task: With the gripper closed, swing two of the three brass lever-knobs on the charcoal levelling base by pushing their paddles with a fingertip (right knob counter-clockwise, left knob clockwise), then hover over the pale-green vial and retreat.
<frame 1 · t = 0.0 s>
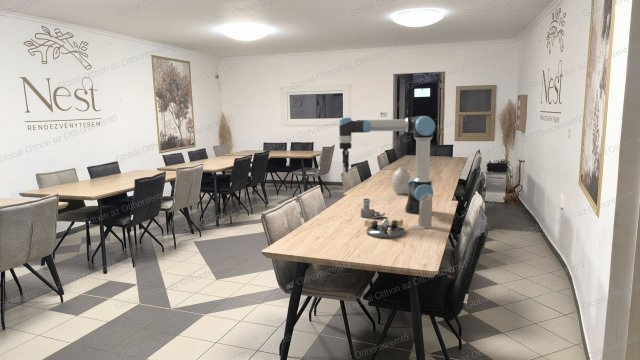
hand: (345, 175, 269), 28 cm above the table, fingers open, 13 cm apart
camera: (372, 217, 274), on the table
knob b: (397, 223, 242), point 4 cm above the table, hinge at 0.0°
knob a: (371, 223, 242), point 4 cm above the table, hinge at 0.0°
candle: (420, 227, 249), on the table
vase: (401, 194, 347), on the table
level base: (385, 233, 238), on the table
knob d: (388, 229, 229), point 4 cm above the table, hinge at 0.0°
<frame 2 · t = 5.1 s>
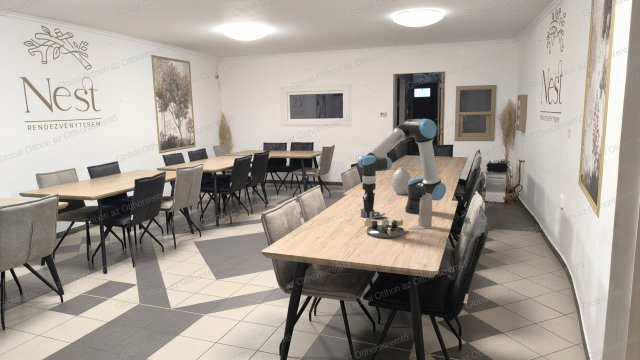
hand: (368, 222, 244), 5 cm above the table, fingers closed
knob a: (370, 223, 242), point 4 cm above the table, hinge at 2.9°, touching gripper
everything else where it was.
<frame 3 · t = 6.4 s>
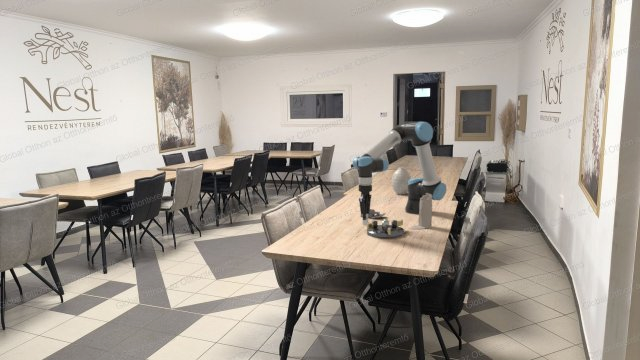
hand: (365, 225, 239), 5 cm above the table, fingers closed
knob a: (372, 225, 239), point 4 cm above the table, hinge at 70.1°
everything else where it was.
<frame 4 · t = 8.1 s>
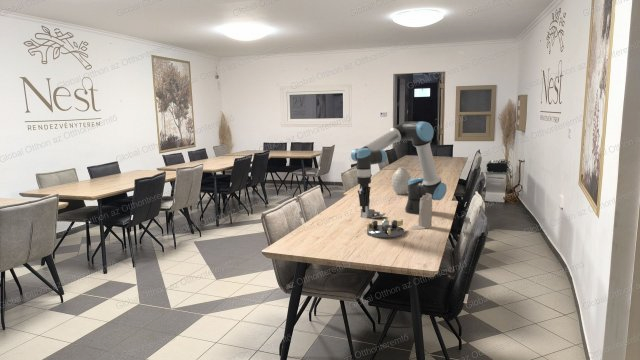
hand: (364, 217, 237), 9 cm above the table, fingers closed
knob a: (372, 225, 239), point 4 cm above the table, hinge at 72.6°
everything else where it was.
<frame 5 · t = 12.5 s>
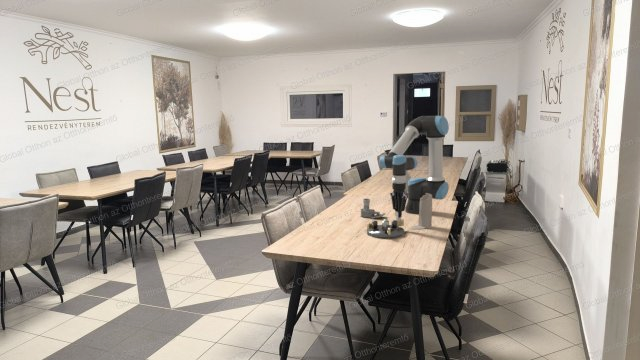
hand: (398, 222, 244), 4 cm above the table, fingers closed
knob b: (397, 223, 242), point 4 cm above the table, hinge at -8.6°, touching gripper
everything else where it was.
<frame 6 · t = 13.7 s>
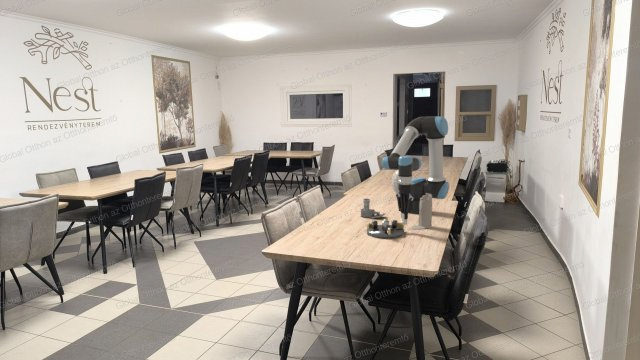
hand: (404, 224, 239), 4 cm above the table, fingers closed
knob b: (397, 224, 240), point 4 cm above the table, hinge at -71.5°, touching gripper
everything else where it was.
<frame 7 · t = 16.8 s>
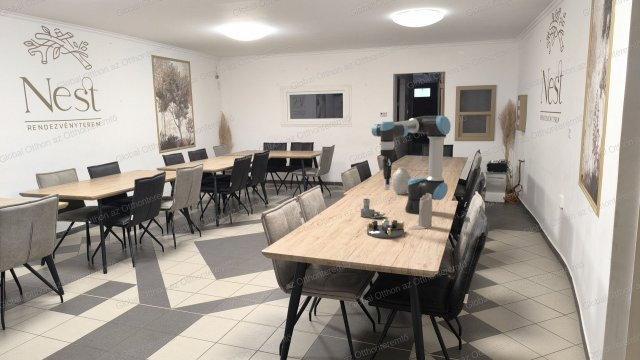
hand: (387, 189, 242), 24 cm above the table, fingers closed
knob b: (397, 224, 240), point 4 cm above the table, hinge at -72.4°
everything else where it was.
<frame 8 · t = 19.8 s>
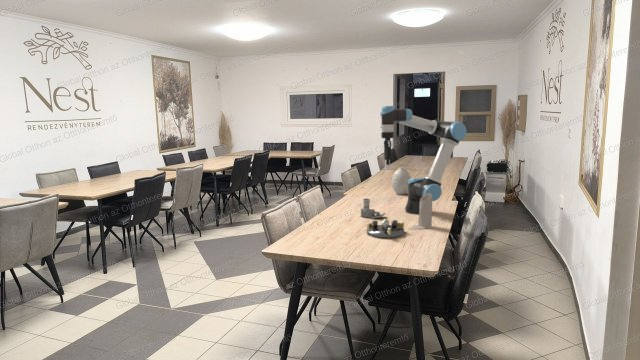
hand: (387, 169, 260), 32 cm above the table, fingers closed
nothing on the table moved.
at the end: knob a at +73° (first picture: +0°); knob b at -72° (first picture: +0°); knob d at +0° (first picture: +0°) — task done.
